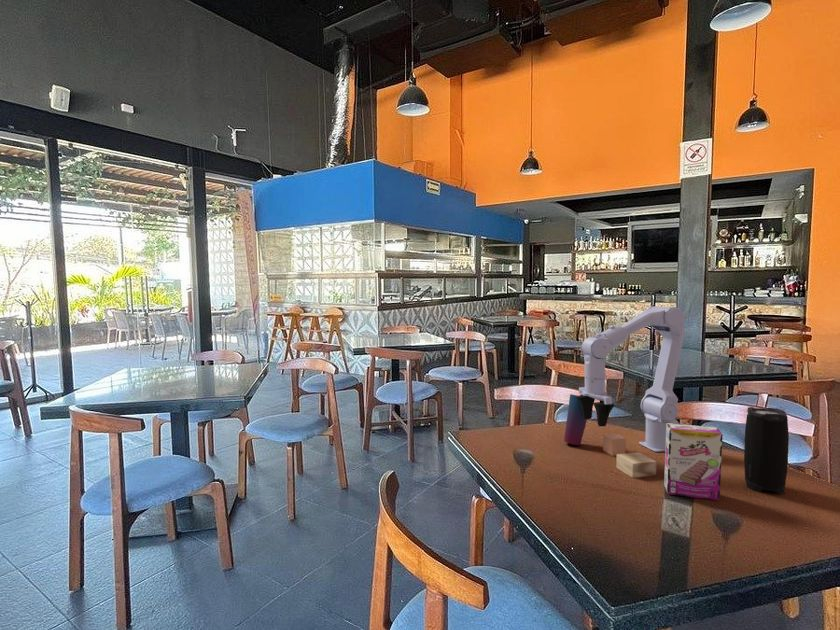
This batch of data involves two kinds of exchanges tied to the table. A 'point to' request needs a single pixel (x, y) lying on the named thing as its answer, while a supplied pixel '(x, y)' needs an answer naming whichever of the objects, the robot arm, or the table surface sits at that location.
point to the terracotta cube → (614, 444)
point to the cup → (574, 422)
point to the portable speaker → (766, 449)
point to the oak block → (636, 464)
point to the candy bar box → (693, 461)
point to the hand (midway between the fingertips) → (594, 422)
